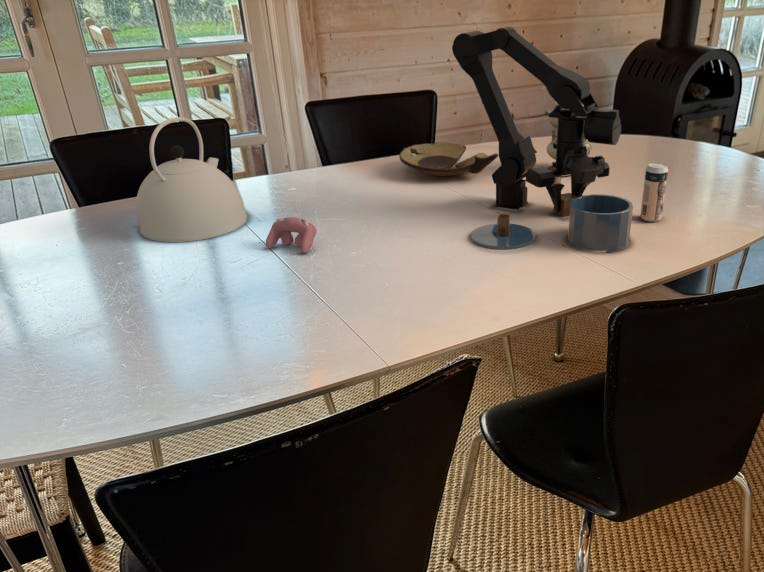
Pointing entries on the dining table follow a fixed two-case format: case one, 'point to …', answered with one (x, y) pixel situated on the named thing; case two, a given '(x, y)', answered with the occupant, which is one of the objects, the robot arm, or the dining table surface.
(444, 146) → the oil lamp
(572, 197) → the block
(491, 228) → the lid
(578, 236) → the pot
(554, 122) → the apothecary jar
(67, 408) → the dining table surface
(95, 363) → the dining table surface
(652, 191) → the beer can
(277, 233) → the video game controller
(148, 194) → the kettle
